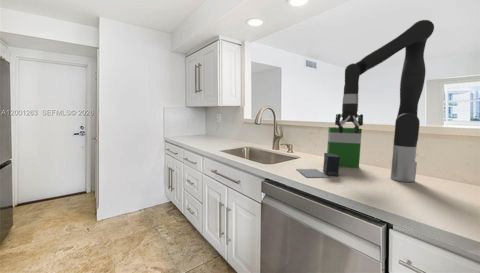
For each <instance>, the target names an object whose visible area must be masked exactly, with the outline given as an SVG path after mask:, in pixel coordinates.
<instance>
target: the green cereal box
mask: <svg viewBox="0 0 480 273" xmlns="http://www.w3.org/2000/svg"><path fill="white" fill-rule="evenodd" d="M338 129H339V126H338V127H337V126H334V127H333V126H329V127H328V133H327V149H326V151H327V152H326V153H332V154H336V155H338V156H339V157H340V159H339V168H341V167H342V168H356V169H357V168H358V169H359V168H360V161H361V160H360V157H361V144H362V131H363V129H362V128H359V132H358V133H357V134H355V133H354V127H343V133H339V132H338Z"/></svg>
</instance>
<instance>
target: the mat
mask: <svg viewBox="0 0 480 273" xmlns="http://www.w3.org/2000/svg"><path fill="white" fill-rule="evenodd" d="M296 171H297V172H298V173H300V174H301V175H302V176H304V177H305V178H307V179H309V178H310V179H311V178H313V179H315V178H318V179H319V178H321V179H323V178H325V179H326V178H331V177H330V175H326V174H325V173H324V172H323V171H320V169H317V168H296Z"/></svg>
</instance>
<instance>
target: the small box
mask: <svg viewBox="0 0 480 273" xmlns="http://www.w3.org/2000/svg"><path fill="white" fill-rule="evenodd" d="M323 157H324V158H323V166H322V167H323V169H322V172H323V173H324V174H326V175H327V176H329V177H330V176H332V177H333V176H334V177H339V168H340V167H339V159H340V157H339V156H338V155H336V154H332V153H327V152H324V155H323Z"/></svg>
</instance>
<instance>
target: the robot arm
mask: <svg viewBox="0 0 480 273" xmlns="http://www.w3.org/2000/svg"><path fill="white" fill-rule="evenodd" d="M434 30H435V25H434V22H432V21H431V20H429V19H421V20H418V21H416V22H414V23H413V24H412V25H411V26H409V28H407V29H406V30H405V31H403V32H402V33H401V34H400V35H398V36H396V37H395V38H393V39H392V40H390V41H389V42H387V43H385V44H384V45H382V46H380V47H378V48H377V49H375V50H373V51H371V52H370V53H368V54H366V55H364V57H362V58H361V59H360V60H359V61H357V62H355V63H350V64H348V65H347V66H346V67H345V69H344V86H343V95H342V96H343V97H342V106H341V113H336V114H335V124H334V125H335V126H338V127H339V129H338V132H339V133H343V128H344V127H343V126H344V125H345V124H346V123H352V124H353V125H354V127H353V128H354V133H355V134H357V133H358V132H359V129H360V127H361V126H363V125H364V114H362V113H360V114H359V113H358V111H359V109H358V108H359V89H360V88H359V87H360V86H359V80H360V76H361V75H363V74H365V73H366V72H367V71H369V70H371V69H373V68H375V67H377V66H379V65H380V64H382V63H383V62H385V61H386V60H388V59H390V58H391V57H392V56H394V55H396V54H397V53H398V52H401V51H402V50H404V49H405V52H404V53H405V55H404V60H403V65H402V70H401V75H400V83H399V107H398V111H397V116H396V119H395V126H394V135H393V146H392V158H391V169H390V179H391V180H394V181H397V182H401V183H402V182H403V183H412V182H416V176H417V175H416V174H417V168H418V167H417V164H418V163H417V161H416V156H417V155H416V154H417V146H418V141H419V133H420V119H419V116H418V111H419V110H418V109H419V108H418V106H419V101H420V99H421V95H422V93H423V89H424V84H425V79H426V64H425V62H426V61H425V58H424V57H425V55H424V54H425V48H426V44H427V41H428V39H430V37H431V36H432V34H433V33H434Z"/></svg>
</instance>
